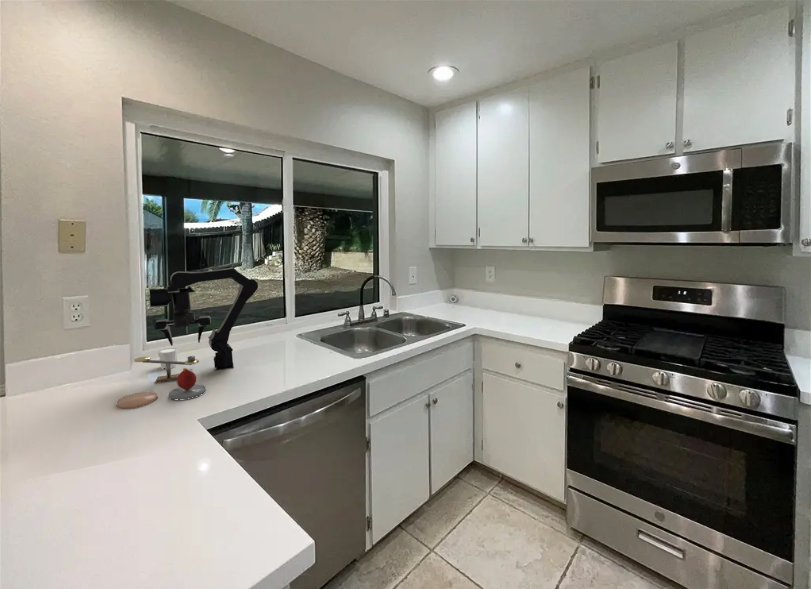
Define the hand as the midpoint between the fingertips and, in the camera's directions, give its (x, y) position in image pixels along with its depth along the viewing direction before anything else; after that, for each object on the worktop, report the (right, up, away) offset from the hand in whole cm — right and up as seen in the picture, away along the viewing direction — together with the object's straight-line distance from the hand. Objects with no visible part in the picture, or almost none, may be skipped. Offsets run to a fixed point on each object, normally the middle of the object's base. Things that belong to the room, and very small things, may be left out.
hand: (185, 344), depth 153 cm
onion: (+11, -14, -18) cm, 26 cm away
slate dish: (+11, -15, -18) cm, 26 cm away
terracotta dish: (-2, -16, -24) cm, 29 cm away
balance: (-3, -13, -5) cm, 14 cm away
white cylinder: (-13, -11, +10) cm, 20 cm away
